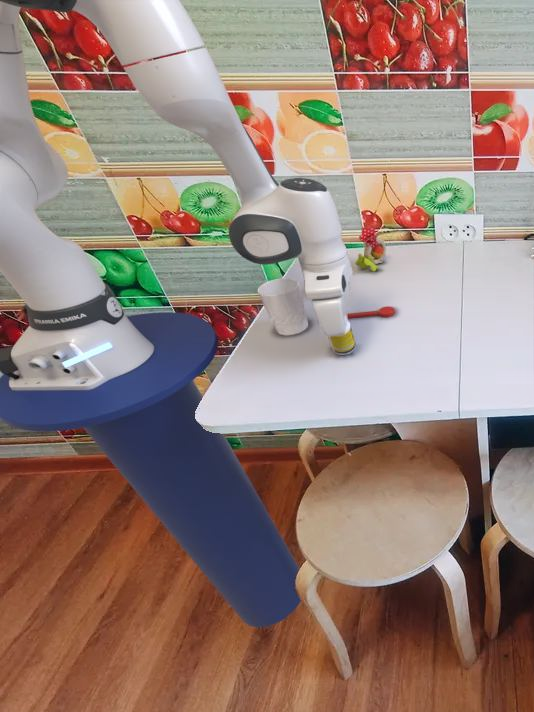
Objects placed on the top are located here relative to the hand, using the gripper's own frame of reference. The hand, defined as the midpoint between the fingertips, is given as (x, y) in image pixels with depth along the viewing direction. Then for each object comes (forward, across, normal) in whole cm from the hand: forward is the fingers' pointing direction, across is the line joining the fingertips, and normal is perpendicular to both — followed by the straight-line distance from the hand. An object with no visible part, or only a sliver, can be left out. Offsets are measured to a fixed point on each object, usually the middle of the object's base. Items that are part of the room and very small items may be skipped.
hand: (345, 330), depth 97 cm
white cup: (+2, -8, -12) cm, 15 cm away
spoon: (+2, -10, +2) cm, 10 cm away
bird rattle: (+3, -36, +5) cm, 36 cm away
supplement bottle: (+2, +3, 0) cm, 4 cm away
